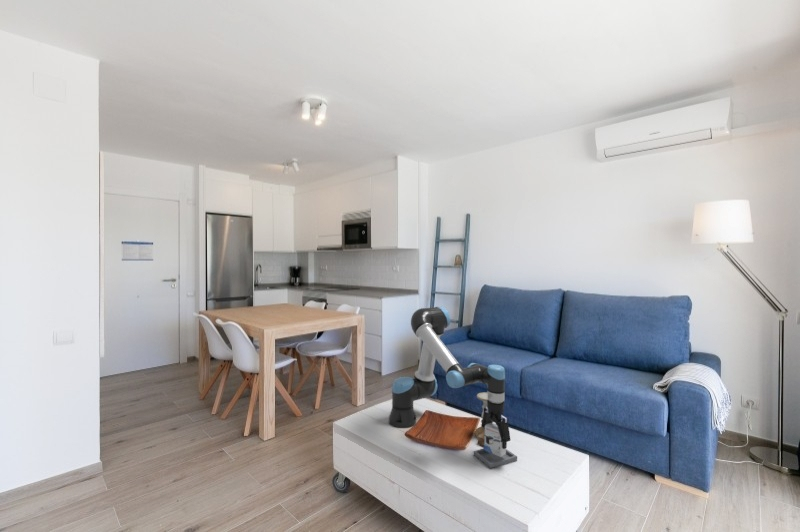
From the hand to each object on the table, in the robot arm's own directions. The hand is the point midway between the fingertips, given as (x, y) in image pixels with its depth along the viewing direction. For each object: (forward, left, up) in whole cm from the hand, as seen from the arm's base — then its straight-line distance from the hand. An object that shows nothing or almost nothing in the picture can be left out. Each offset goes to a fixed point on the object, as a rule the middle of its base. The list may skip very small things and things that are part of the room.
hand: (495, 449), depth 168 cm
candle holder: (-19, +11, -4) cm, 22 cm away
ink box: (0, 0, -1) cm, 1 cm away
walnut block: (-12, +4, -4) cm, 13 cm away
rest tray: (0, 0, -4) cm, 4 cm away
